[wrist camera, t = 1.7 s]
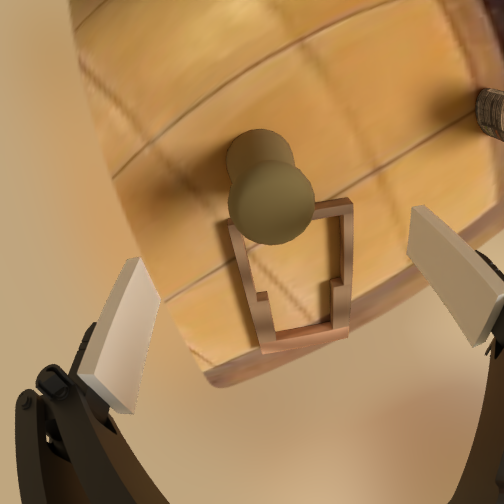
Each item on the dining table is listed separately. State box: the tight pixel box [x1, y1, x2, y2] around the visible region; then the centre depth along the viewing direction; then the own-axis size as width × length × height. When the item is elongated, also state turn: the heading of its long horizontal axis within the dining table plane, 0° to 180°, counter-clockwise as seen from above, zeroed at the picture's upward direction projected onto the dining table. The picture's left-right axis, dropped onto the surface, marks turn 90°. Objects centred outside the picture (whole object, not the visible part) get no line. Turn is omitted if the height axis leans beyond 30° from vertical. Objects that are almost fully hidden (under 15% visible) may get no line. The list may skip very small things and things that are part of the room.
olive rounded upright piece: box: [226, 129, 315, 245], centre depth 20 cm, size 6×6×11 cm
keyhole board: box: [228, 198, 353, 354], centre depth 32 cm, size 20×12×2 cm, turn 11°
